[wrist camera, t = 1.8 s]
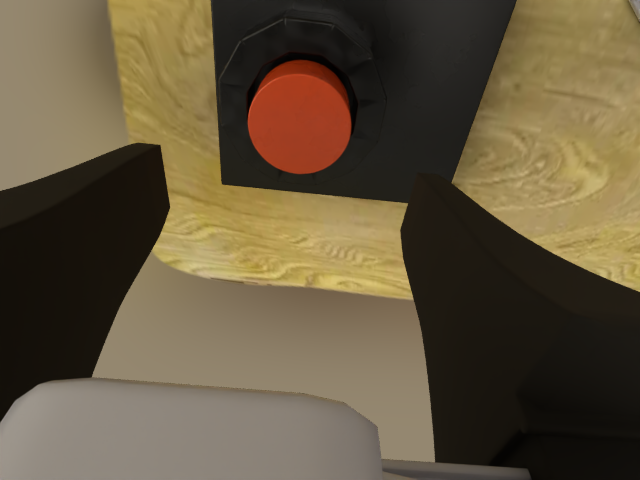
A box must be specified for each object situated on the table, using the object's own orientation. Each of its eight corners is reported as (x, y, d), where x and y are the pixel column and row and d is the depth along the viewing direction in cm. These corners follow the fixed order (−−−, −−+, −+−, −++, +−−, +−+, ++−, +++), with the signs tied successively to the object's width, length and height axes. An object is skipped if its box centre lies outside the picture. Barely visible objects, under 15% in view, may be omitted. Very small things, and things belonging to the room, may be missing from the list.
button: (356, 65, 15) (359, 80, 14) (342, 156, 18) (343, 179, 16) (255, 53, 15) (246, 67, 14) (255, 148, 18) (248, 169, 16)
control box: (501, -15, 17) (540, -3, 14) (434, 186, 23) (451, 226, 20) (220, -51, 16) (194, -47, 13) (229, 165, 22) (213, 203, 19)
